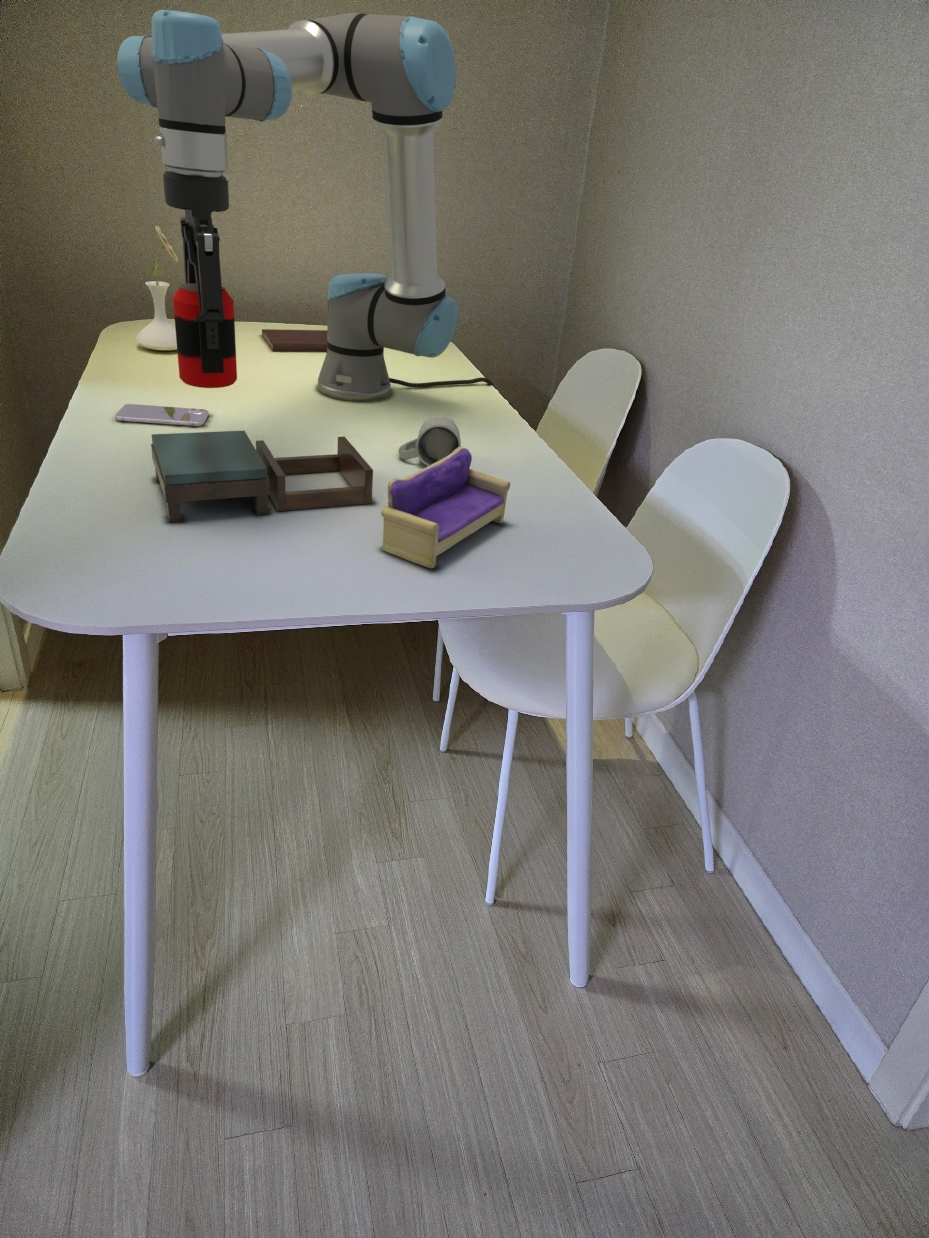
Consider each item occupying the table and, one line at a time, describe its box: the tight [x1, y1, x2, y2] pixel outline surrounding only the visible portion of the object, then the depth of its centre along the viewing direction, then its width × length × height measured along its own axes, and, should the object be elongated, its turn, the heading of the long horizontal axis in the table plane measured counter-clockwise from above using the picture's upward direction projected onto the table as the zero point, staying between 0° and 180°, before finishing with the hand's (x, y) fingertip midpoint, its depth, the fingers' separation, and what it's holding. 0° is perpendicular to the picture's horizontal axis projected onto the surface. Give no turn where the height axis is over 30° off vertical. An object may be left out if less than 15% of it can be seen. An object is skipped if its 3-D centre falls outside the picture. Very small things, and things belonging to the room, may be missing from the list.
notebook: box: [261, 328, 327, 353], centre depth 197 cm, size 15×20×2 cm
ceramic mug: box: [397, 415, 462, 467], centre depth 137 cm, size 11×8×8 cm
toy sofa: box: [380, 446, 511, 569], centre depth 112 cm, size 21×9×10 cm, turn 148°
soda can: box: [172, 283, 238, 389], centre depth 106 cm, size 8×8×12 cm
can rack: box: [255, 435, 374, 512], centre depth 123 cm, size 14×14×6 cm
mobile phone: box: [115, 403, 210, 427], centre depth 143 cm, size 8×1×15 cm
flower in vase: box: [135, 225, 180, 351], centre depth 175 cm, size 13×11×25 cm
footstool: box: [150, 430, 270, 523], centre depth 116 cm, size 14×16×7 cm
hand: (207, 363), depth 108 cm, fingers closed on soda can, 8 cm apart
